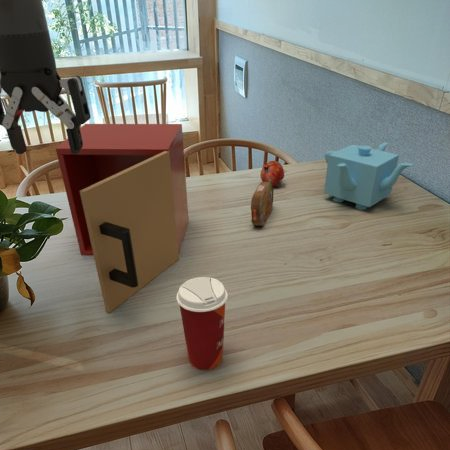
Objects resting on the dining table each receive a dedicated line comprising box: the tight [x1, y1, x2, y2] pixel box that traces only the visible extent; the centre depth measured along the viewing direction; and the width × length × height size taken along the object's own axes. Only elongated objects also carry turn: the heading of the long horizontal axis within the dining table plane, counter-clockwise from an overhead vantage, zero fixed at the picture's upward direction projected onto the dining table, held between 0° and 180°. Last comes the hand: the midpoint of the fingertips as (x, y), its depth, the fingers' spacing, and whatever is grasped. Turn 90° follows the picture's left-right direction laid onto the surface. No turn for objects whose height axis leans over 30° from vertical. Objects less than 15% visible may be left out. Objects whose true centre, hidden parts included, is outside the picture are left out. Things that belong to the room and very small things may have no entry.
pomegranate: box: [259, 160, 285, 188], centre depth 133 cm, size 7×7×10 cm
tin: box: [250, 181, 274, 227], centre depth 114 cm, size 15×3×8 cm, turn 163°
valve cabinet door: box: [80, 151, 180, 314], centre depth 84 cm, size 7×22×24 cm, turn 149°
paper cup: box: [175, 276, 229, 371], centre depth 70 cm, size 8×8×14 cm
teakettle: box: [323, 141, 414, 211], centre depth 120 cm, size 19×19×15 cm
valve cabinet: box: [55, 123, 190, 257], centre depth 102 cm, size 18×22×24 cm
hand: (48, 152), depth 68 cm, fingers open, 8 cm apart
